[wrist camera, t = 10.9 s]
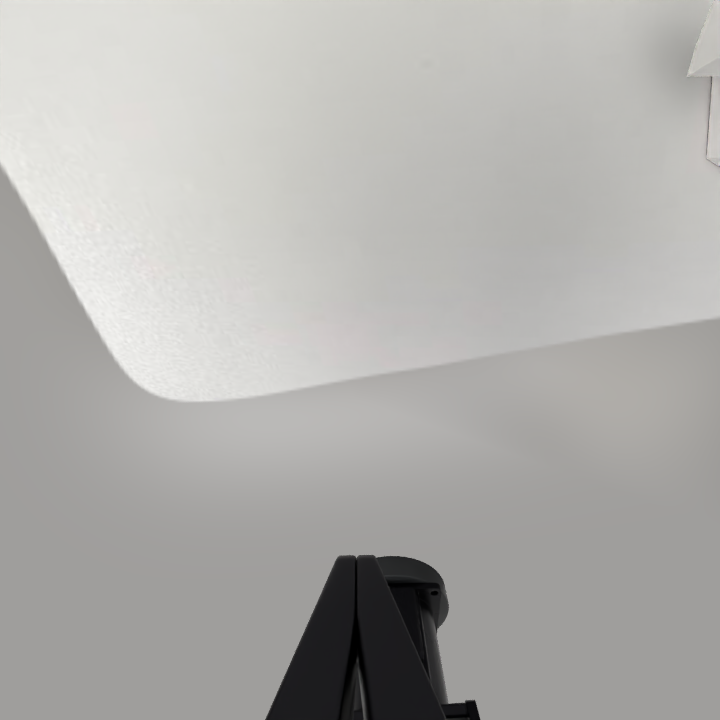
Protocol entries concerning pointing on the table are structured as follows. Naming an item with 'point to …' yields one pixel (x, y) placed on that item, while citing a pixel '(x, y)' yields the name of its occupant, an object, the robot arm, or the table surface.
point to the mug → (710, 74)
